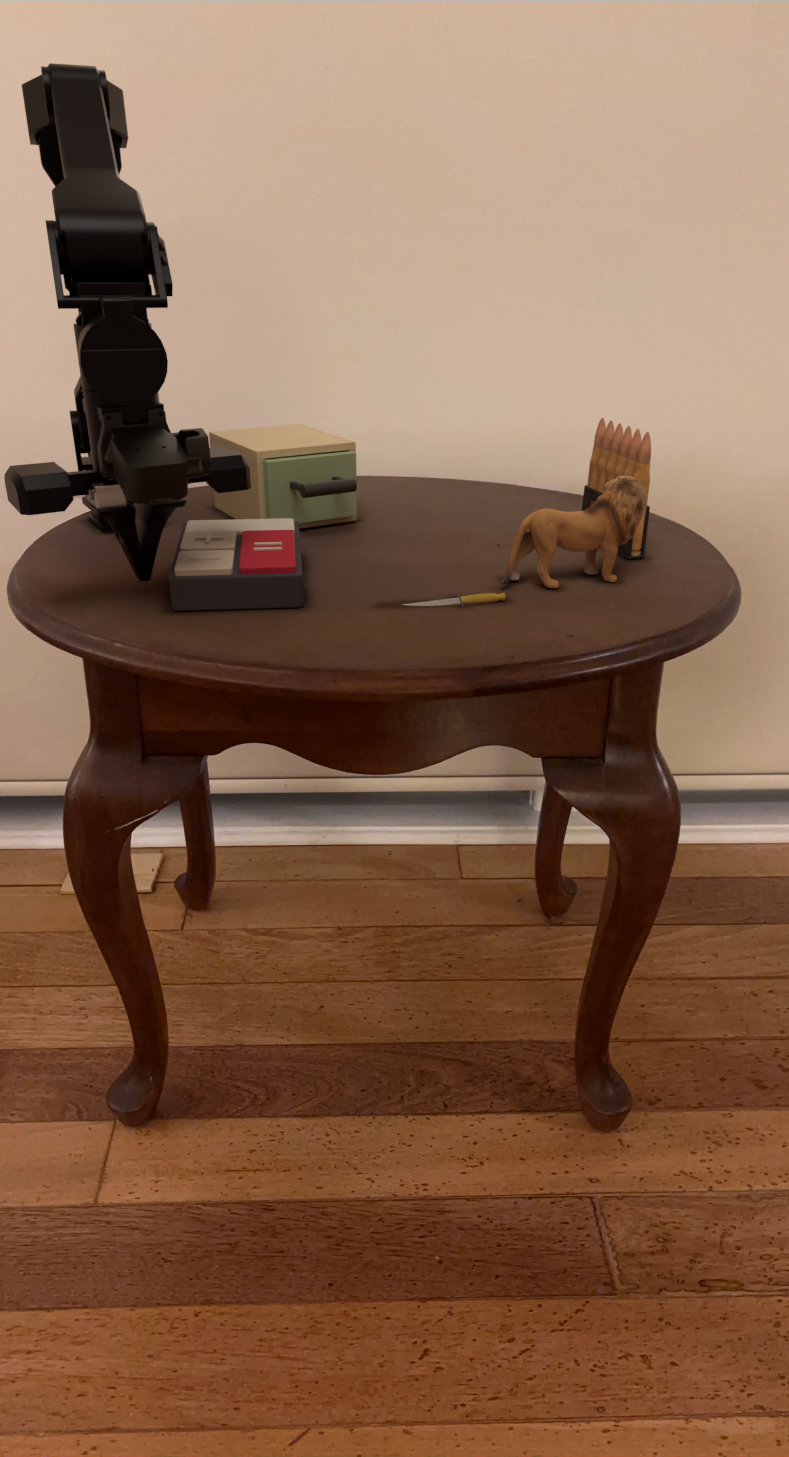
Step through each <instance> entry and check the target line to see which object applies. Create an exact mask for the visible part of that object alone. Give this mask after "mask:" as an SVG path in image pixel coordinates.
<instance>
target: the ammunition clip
mask: <svg viewBox="0 0 789 1457" xmlns="http://www.w3.org/2000/svg"><path fill="white" fill-rule="evenodd" d="M651 457H652V441H651V435H650V433H649V431H646V432H645V434H644V435H643V437H642V434H641V431H640V429H639V428H637V429H635V431H634V433H632V427H631V426H630V425H628V426H626V428H625V429H623V426H622V423H618V424H617V426H616V428H615V425H614V422H613V420H609V422H608V423H607V425H606V422H605V418H604V417H601V418H600V420H599V422H598V424H597V427H596V431H595V435H594V440H593V446H592V453H591V457H590V460H589V468H588V475H587V484H586V485H584V486H583V494H582V502H581V503H582V504H581V511H584V510H585V509H587V508H589V507H590V506H592V504H593V503H594V502H596V501H597V498H598V497H599V496H601V495H602V494H603V493H604V492H605V484H606V483H607V482H610V480H612V479H616V478H617V477H618V476H632V477H634V478H636V479H638V480H639V481H640V482H641V483H642V486H643V488H644V490H645V496H646V505H645V507H644V510H643V516H642V518H641V520H640V522H639V525H638V527H637V530H636V533H635V535H633V537H632V538H631V539H630V540H629V541H628V542H627V543H626V544H623V545H620V546H618V552H617V556H620V557H622V558H623V559H626V560H635V559H644V558H645V554H646V553H645V552H646V544H647V538H648V536H647V535H648V528H649V518H650V510H651V506H649V505H648V499H649V491H650V486H651V485H650V484H651Z"/></svg>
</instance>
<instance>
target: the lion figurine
mask: <svg viewBox="0 0 789 1457" xmlns="http://www.w3.org/2000/svg"><path fill="white" fill-rule="evenodd" d="M645 505H646V496H645V490H644V488H643V486H642V483H641V482H640V481H639V480H638V479H636V478H634V477H632V476H618V477H617V478H616V479H612V480H610V482H607V483H606V484H605V492H604V493H603V494H602V495H601V496H599V497H598V498H597V501H596V502H594V503H593V504H592V506H590V507H589V508H587V509H585V510H584V511H582V510H577V511H564V510H559V509H554V508H541V509H537V510H535V511H533V512H531V513H530V514H529V515H527V516H526V517H525V518H524V519H523V520H522V522H521V523H520V525H519V527H518V529H517V531H516V532H515V536H514V540H513V543H512V545H511V551H510V555H509V556H508V558H507V565H506V568H505V574H504V575H503V578H502V579H501V581H500V582H499V584H500V585H507V584H509V583H510V581H519V580H520V577H521V574H520V573H519V572H517V571H515V568H516V567H517V565H518V564H519V563H520V562H521V561H522V560H523V559H525V558H526V557H527V556H529V555H530V554H531V553H533V551H534V550H535V552H536V555H537V559H538V561H537V566H536V571H535V572H536V573H537V575H538V577H539V578H540V580H541V581H542V583H543V584H544V586H545V587H546V588H547V589H558V588H559V587H560V583H559V581H558V580H557V579H553V578H551V576H550V572H549V569H550V564H551V563H552V561H553V559H554V556H555V554H556V551H557V547H559V548H560V549H562V550H565V551H568V552H571V553H572V552H573V553H581V552H582V553H583V552H585V560H584V565H583V572H584V573H585V574H586V575H589V576H594V575H597V574H598V572H599V569H598V568H597V567H596V558H597V554H598V550H599V549H600V551H601V553H602V556H603V559H602V561H603V563H602V567H601V575H602V579H603V581H605V582H608V583H617V581H618V577H617V575H616V574H614V573H613V569H614V566H615V563H616V560H617V556H618V554H617V552H618V546H620V545H623V544H626V543H627V542H628V541H629V540H630V539H631V538H632V537H633V535H635V533H636V530H637V527H638V525H639V522H640V520H641V518H642V516H643V510H644V507H645Z"/></svg>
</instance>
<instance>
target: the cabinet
mask: <svg viewBox="0 0 789 1457" xmlns="http://www.w3.org/2000/svg"><path fill="white" fill-rule="evenodd" d="M208 439H209V447H219V446H223V447H225V448H227V449H229V450H232V451H234V452H236V453H238V454H241V455H242V456H243V457H244V458H245V459H246V460H247V463H248V465H249V468H250V480H251V488H250V489H248V490H242V491H233V492H225V493H217V492H216V491H215V490H214V489H213V498H214V499H213V500H214V508H216V509H217V510H219V511H221V512H222V513H224V514H226V515H228V516H229V517H231V518H233V519H266V508H265V491H264V473H263V460H264V459H266V458H276V457H286V456H295V455H305V454H315V453H325V452H335V451H339V452H346V451H352V452H355V453H356V454H357V450H356V448H357V445H356V443H357V442H356V441H354V440H352V439H351V440H350V439H349V438H344V437H342V436H338V435H335V434H332V433H330V432H326V431H323V430H321V429H318V428H314V427H311V426H308V425H304V424H301V423H298V424H286V425H285V424H284V425H275V426H274V425H273V426H264V427H263V426H262V427H261V426H260V427H252V428H239V429H227V430H217V431H216V430H215V431H208ZM349 522H357V516H350V517H343V518H336V519H329V520H321V521H314V522H307V523H300V524H299V530H301V529H308V528H315V527H320V526H329V525H334V524H335V525H337V524H343V523H349Z"/></svg>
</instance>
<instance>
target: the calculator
mask: <svg viewBox="0 0 789 1457" xmlns="http://www.w3.org/2000/svg"><path fill="white" fill-rule="evenodd" d="M300 533H301V532H300V529H299V522H298V521H294V519H292V518H280V519H235V518H233V519H192V520H187V522H185V523H183V525H182V528H181V531H180V536H179V538H178V543H177V546H176V549H175V554H174V557H173V561H172V565H171V567H170V571H169V575H168V585H169V595H170V602H171V609H172V611H174V612H193V611H194V612H195V611H197V612H199V611H200V612H201V611H227V610H229V611H230V610H260V609H262V610H263V609H291V608H292V609H293V608H294V609H295V608H296V609H297V608H302V607H304V603H305V602H304V599H305V598H304V577H303V563H302V562H303V561H302V560H303V559H302V547H301V534H300Z"/></svg>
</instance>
